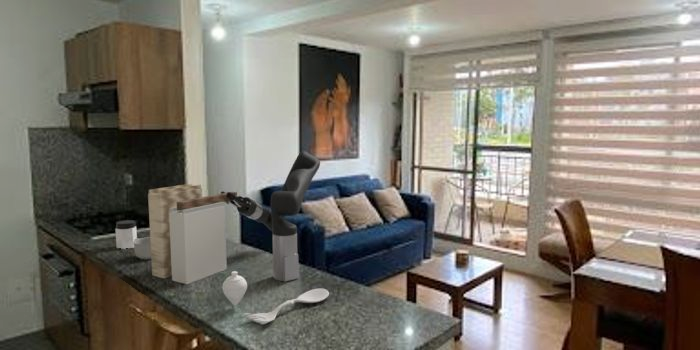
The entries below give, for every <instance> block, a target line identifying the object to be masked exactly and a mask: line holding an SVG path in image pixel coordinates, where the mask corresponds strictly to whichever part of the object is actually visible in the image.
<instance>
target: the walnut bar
mask: <svg viewBox="0 0 700 350" xmlns="http://www.w3.org/2000/svg"><path fill="white" fill-rule="evenodd" d="M229 192H230V193H232V194H233V195H234V196H235V195H237V196H238V192H237V191H236V192H235V191H229ZM226 195H227V192H225V193H223V194H221V193H219V194H218V193H217V194H212V195H208V196H202V197H201V198H196V199H190V200H185V201H180V202H177V210H180V211H182V210H185V209H190V208H195V207H200V206H205V205H210V204H215V203H219V202H224V203H226V202H227V201H232V200H231V199H229V198H227V197H226Z"/></svg>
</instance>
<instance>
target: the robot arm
mask: <svg viewBox="0 0 700 350" xmlns="http://www.w3.org/2000/svg"><path fill="white" fill-rule="evenodd" d="M320 166H321V162H320V160H319V158H317V157H316V156H314V155H312V154H310V153H309V152H307V151H305V150H302V151H301V152H300V153H299V154H298V155H297V157H296V158H295V159H294V162H293V164H292V166H291V169H290V170H289V172H288V174H287V177H286V179H285V181H284V183H283V186H282V188H281V190H275V191H274V192H272V194H271V196H270V209H268V208H265V207H264V206H263V205H261V204H260V203H258V202H257V201H255V200H253V199H252V198H250V197H248V196H245V197H243V196H241V195H238V194H237V195H235V196H234V195H233V194H232V193H230V192H231V191H227V192H225V191H221V192H220V194H223V193H227V195H226V197H227V198H229V199H231V200H232V201H227V202H225V203H226V204H227V205H232V206H233V207H234V208H236V210H237V212H238V213H239V214H241V215H243V216H244V217H247V218H248V219H251V220H253V221H255V222H257V223H262V224H263V225H264V226H265V227H267V229H268V230H270V231H271V233H272V273H273V274H272V277H273V279H274V280H276V281H278V282H281V281H282V282H284V283H285V282H290V281H293V280H297V279H300V278H299V273H300V272H299V271H300V268H299V253H298V226H297V225H296V224H294V223H292V222H290V221H288V220H287V219H285V217H292V216H293V217H294V216H297V215H298V214H299V212H300V211H301V207H302V204H303V201H304V198H305V195H306V193H307V192H308V190H309V188H310V185H311V183H312V181H313V179H314V177H315V175H316V173H317V172H318V170H319V168H320Z"/></svg>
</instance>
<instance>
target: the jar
mask: <svg viewBox="0 0 700 350" xmlns="http://www.w3.org/2000/svg"><path fill="white" fill-rule="evenodd" d="M115 224H116V225H115V241H116V243H115V244H116V248H117V249H119V248H121V250H127V249H126V248H128V249H134V244H133V242H134V240H135V239H137V238H138V236H137V235H138V234H137V233H138V232H137V231H138V230H137V225H136V221H135V220H132V219H131V220H130V219H125V220H119V221H116V223H115Z"/></svg>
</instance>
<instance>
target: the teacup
mask: <svg viewBox="0 0 700 350" xmlns="http://www.w3.org/2000/svg"><path fill="white" fill-rule="evenodd" d="M133 244H134V248H133V251H134V255H135V257H137V259H138V258H139V259H141V260H143V259H144V260H151V241H150V236H147V237H142V238H141V237H140V238H138V237H137V239H135V240H134V242H133Z"/></svg>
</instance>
